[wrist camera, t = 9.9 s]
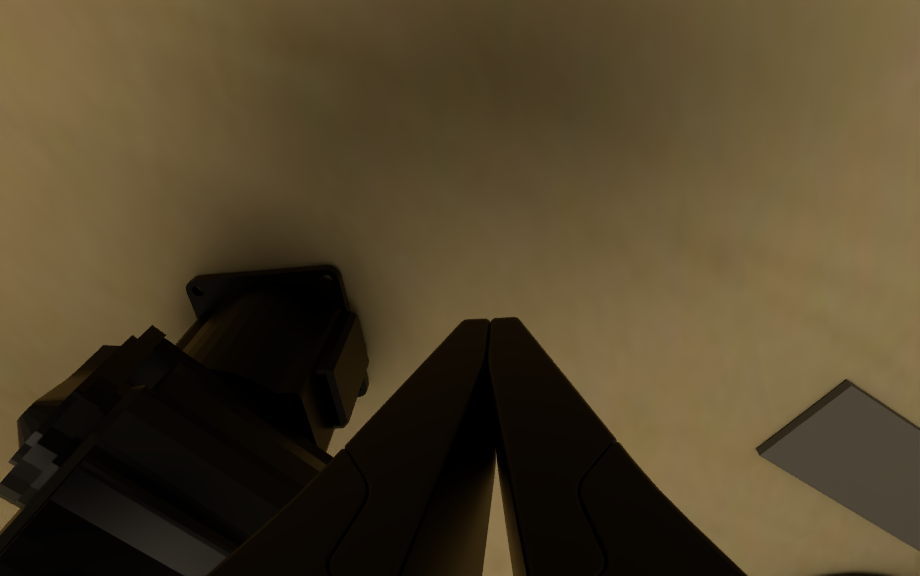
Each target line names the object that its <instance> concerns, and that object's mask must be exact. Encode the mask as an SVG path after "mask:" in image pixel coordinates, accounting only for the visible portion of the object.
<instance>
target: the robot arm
mask: <svg viewBox="0 0 920 576" xmlns="http://www.w3.org/2000/svg"><path fill="white" fill-rule="evenodd" d="M324 275H328V276H330V277H331V278H332V280H333V281H327V280H325V279H324V277H323V276H324ZM197 286H199V287H201V288H202V289H203V290H204V292H202V291H200V290H198V288H197ZM186 291H187V294H188V297H189V299H190V302H191V304H192V306H193V309H194V311H195V314H196V316H197V320H196V322H195V323H194V324H193V325H192V326H191V327H190V329H189V330H188V331H187V332H186V333H185V334H184V336H183V337H182V338H181V339H180V340H179V341H178V343H177V344H176V345H174V344H172V343H171V342H170V341H168V340H167V339H165V338H164V337H165V336H166V334H164V333H163V332H161V331H160V330H158V329H157V328H156V327H154V326H153V325H152V326H151V327H150V328H149V329H148V330H147V331H146V332H144V333H143V334H142V335H141V336H140V337H139V338H138V339H137V338H136V337H135V336H133V335H132V336H131V337H130V338H129V339H128V340H127V341H126V342H125V343H124V344H122V345H121V346H109V345H103V346H102V347H101V348H100V349H99V350H98V351H97V352H96V353H95V354H94V355H93V356H92V357H91V358H89V359H88V360H87V361H86V362H85V363H84V364H83V365H82V366H81V367H80V368H79V369H78V370H77V371H76V372H75V373H73V374H72V375H71V376H70V377H69V378H68V379H66V380H65V381H64V382H62V383H61V384H59V385H58V386H56V387H55V388H54V389H52V390H51V391H49V392H48V393H46V394H45V395H44V396H42V397H41V398H39V399H38V400H37V401H35V402H34V403H33V404H32V405H31V406H30V407H29V408H28V409H27V410H26V411H25V412H24V413H23V414H22V415H21V416H20V418H19V419H18V420H17V428H18V441H19V450H18V451H17V452H16V453H15V455H14V456H13V457H12V458H11V459H10V461H9V463H11V464H12V465H14V466H15V467H14V468H13V469H12V470H11V471H10V472H9V473H8V475H7V476H6V477H5V478H4V479H3V480H2V481H1V483H0V497H1V498H2V499H4V500H6V501H8V502H10V503H11V504H14V505H15V506H17V507H19V508H20V509H19V511H18V512H17V513H16V514H15V515H14V516H13V517H12V518H11V520H10V521H9V522H8V523H7V524H6V525H5V526H4V527H3V529H2V530H1V531H0V576H482V572H483V564H484V556H485V548H486V540H487V532H488V524H489V516H490V508H491V500H492V492H493V484H494V475H495V464H496V455H497V464H498V473H499V481H500V488H501V495H502V502H503V509H504V515H505V522H506V529H507V536H508V543H509V550H510V557H511V564H512V571H513V576H748V575H747V574H745V573H744V572H743V571H742V570H741V569H740V568H739V567H738V566H737V565H736V564H735V563H734V562H733V561H732V560H731V559H730V558H729V557H728V556H727V555H726V554H725V553H724V552H722V551H721V550H720V549H719V548H718V547H717V546H716V545H715V544H714V543H713V542H712V541H711V540H710V539H709V538H708V537H707V536H706V535H705V534H704V533H703V532H702V531H701V530H699V529H698V528H697V527H696V526H695V525H694V524H693V523H692V522H691V521H690V520H689V519H688V518H687V517H686V516H685V515H684V514H683V513H682V512H681V511H680V510H679V509H678V508H677V507H676V506H675V505H674V504H673V503H672V502H671V501H670V500H669V499H668V498H667V497H666V496H665V495H664V494H663V493H662V492H661V491H660V490H659V489H658V488H657V487H656V485H655V484H654V483H653V482H652V481H651V480H650V478H649V477H648V476H647V475H646V474H645V473H644V472H643V470H642V469H641V468H640V467H639V466H638V465H637V464H636V462H635V461H634V460H633V459H632V458H631V456H630V455H629V454H628V453H627V451H626V450H625V449H624V448H623V446H622V445H621V444H620V443H619V442H617V440H616V438H615V437H614V436H613V434H612V433H611V432H610V431H609V429H608V428H607V427H606V426H605V425H604V423H603V422H602V421H601V420H600V418H599V417H598V416H597V415H596V413H595V412H594V411H593V410H592V408H591V407H590V406H589V405H588V404H587V402H586V401H585V400H584V399H583V397H582V396H581V395H580V394H579V392H578V391H577V390H576V389H575V387H574V386H573V385H572V384H571V383H570V381H569V380H568V379H567V378H566V376H565V375H564V374H563V373H562V371H561V370H560V369H559V368H558V367H557V365H556V364H555V363H554V362H553V360H552V359H551V358H550V357H549V355H548V354H547V353H546V352H545V350H544V349H543V348H542V347H541V346H540V344H539V343H538V342H537V341H536V339H535V338H534V337H533V336H532V334H531V333H530V332H529V331H528V330H527V328H526V327H525V326H524V325H523V323H522V322H521V321H520V320H519V319H518V318H516V317H506V318H494V319H492V320H491V323H490V321H489V320H488V319H467V320H463V321H462V322H461V323H460V324H459V325H458V326H457V327H456V328H455V329H454V330H453V331H452V333H451V334H450V335H449V336H448V337H447V338H446V339H445V340H444V341H443V342H442V343H441V344H440V345H439V346H438V347H437V348H436V350H435V351H434V352H433V353H432V354H431V355H430V356H429V357H428V358H427V359H426V360H425V361H424V362H423V363H422V364H421V365H420V367H419V368H418V369H417V370H416V371H415V372H414V373H413V374H412V375H411V376H410V377H409V378H408V379H407V380H406V381H405V382H404V384H403V385H402V386H401V387H400V388H399V389H398V390H397V391H396V392H395V393H394V394H393V395H392V396H391V397H390V398H389V399H388V401H387V402H386V403H385V404H384V405H383V406H382V407H381V408H380V409H379V410H378V411H377V412H376V413H375V414H374V415H373V416H372V418H371V419H370V420H369V421H368V422H367V423H366V424H365V425H364V426H363V427H362V428H361V429H360V430H359V431H358V432H357V433H356V435H355V436H354V437H353V438H352V439H351V440H350V441H349V442H348V443H347V444H346V445H345V449H341V450H340V451H339V452H338V453H337V454H336V456H335V457H334V458H333V457H332V456H331V455H329V454H328V453H326V452H327V449H328V446H329V444H330V441H331V438H332V435H333V432H334V430H335V429H337V428H344V427H345V426H346V425H347V424H348V422H349V420H350V417H351V414H352V411H353V408H354V405H355V402H356V399H357V397H361V396H363V395H365V394H366V392H367V389H368V386H369V382H368V378H367V374H366V369H367V366H368V364H369V359H368V355H367V351H366V347H365V343H364V339H363V335H362V331H361V327H360V323H359V319H358V316H357V315H356V314H355V313H354V312H353V311H350V308H349V304H348V300H347V296H346V292H345V288H344V284H343V280H342V276H341V274H340V272H339V270H338V269H337V268H336V267H333V266H331V265H321V266H309V267H297V268H286V269H274V270H262V271H251V272H239V273H227V274H216V275H204V276H196V277H194V278H193V279H192V280H191V281H190V282H189V283H188V284H187V286H186Z"/></svg>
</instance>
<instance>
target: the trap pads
mask: <svg viewBox="0 0 920 576" xmlns="http://www.w3.org/2000/svg"><path fill="white" fill-rule="evenodd" d="M757 451H758V453H759V455H760V456H761V457H763V458H765V459H766V460H768V461H770V462H771V463H773V464H775V465H776V466H778V467H780V468H781V469H783V470H785V471H786V472H788V473H790V474H791V475H793V476H795V477H796V478H798V479H800V480H801V481H803V482H805V483H806V484H808V485H810V486H811V487H813V488H815V489H816V490H818V491H820V492H821V493H823V494H825V495H826V496H828V497H830V498H831V499H833V500H835V501H836V502H838V503H840V504H841V505H843V506H845V507H846V508H848V509H850V510H851V511H853V512H855V513H856V514H858V515H860V516H861V517H863V518H865V519H866V520H868V521H870V522H871V523H873V524H875V525H876V526H878V527H880V528H882V529H883V530H885V531H887V532H888V533H890V534H892V535H893V536H895V537H897V538H898V539H900V540H902V541H903V542H905V543H907V544H908V545H910V546H912V547H913V548H915V549H917V550H918V551H920V428H918V427H917V426H915V425H914V424H912V423H911V422H909V421H908V420H906V419H905V418H903V417H902V416H900V415H899V414H897V413H896V412H894V411H893V410H891V409H890V408H888V407H887V406H885V405H884V404H882V403H881V402H879V401H878V400H876V399H875V398H873V397H872V396H870V395H869V394H867V393H866V392H865V391H863V390H862V389H860V388H859V387H857V386H856V385H854V384H853V383H851V382H850V381H848V380H846V381H845V382H843V383H842V384H841V385H839V386H838V387H837V388H835V389H834V390H833V391H831V392H830V393H829V394H828V395H826V396H825V397H824V398H822V399H821V400H820V401H818V402H817V403H816V404H815V405H813V406H812V407H811V408H809V409H808V410H807V411H805V412H804V413H803V414H801V415H800V416H799V417H798V418H796V419H795V420H794V421H792V422H791V423H790V424H788V425H787V426H786V427H785V428H783V429H782V430H781V431H779V432H778V433H777V434H775V435H774V436H773V437H771V438H770V439H769V440H768V441H766V442H765V443H764V444H762V445H761V446H760V447H758V448H757Z"/></svg>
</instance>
